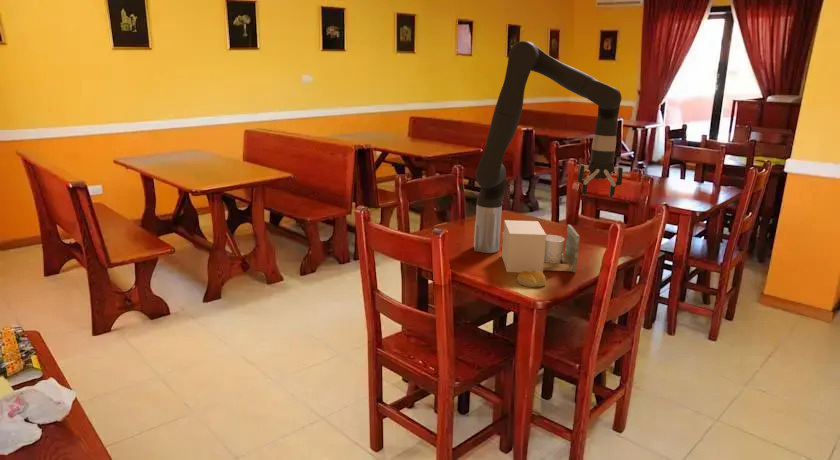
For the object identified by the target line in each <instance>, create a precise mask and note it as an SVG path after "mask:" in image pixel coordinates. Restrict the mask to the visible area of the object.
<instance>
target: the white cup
mask: <svg viewBox="0 0 840 460" xmlns="http://www.w3.org/2000/svg"><path fill="white" fill-rule="evenodd" d="M565 241H566V238H565V237H563V236H561V235H556V234H546V244H545V255H544V263H551V264H562V260H561V259H562V253H563V252H564V248H565V247H564V245H565Z"/></svg>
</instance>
